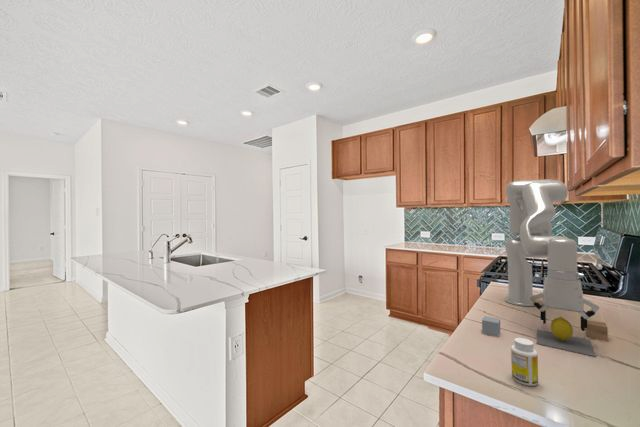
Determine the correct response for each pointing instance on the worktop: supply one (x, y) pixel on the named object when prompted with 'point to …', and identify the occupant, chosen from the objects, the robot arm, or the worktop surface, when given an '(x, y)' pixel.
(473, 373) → the worktop surface
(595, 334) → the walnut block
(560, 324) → the lemon
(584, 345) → the mat
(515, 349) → the supplement bottle
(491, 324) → the slate block
